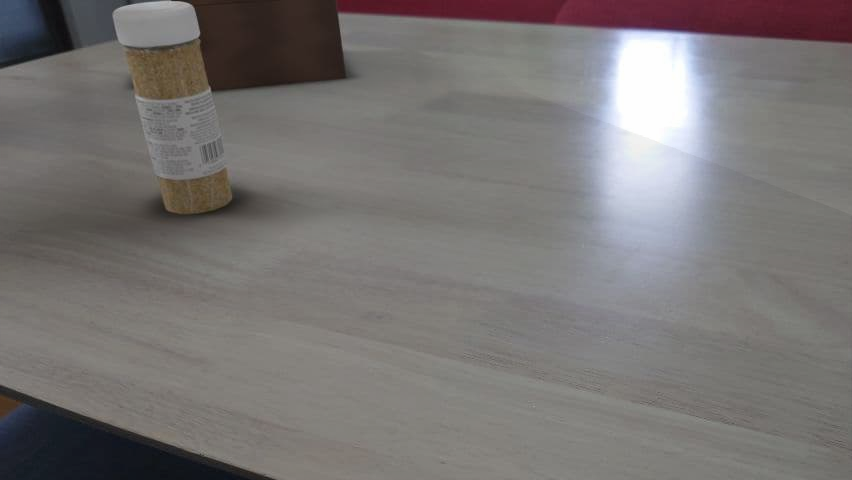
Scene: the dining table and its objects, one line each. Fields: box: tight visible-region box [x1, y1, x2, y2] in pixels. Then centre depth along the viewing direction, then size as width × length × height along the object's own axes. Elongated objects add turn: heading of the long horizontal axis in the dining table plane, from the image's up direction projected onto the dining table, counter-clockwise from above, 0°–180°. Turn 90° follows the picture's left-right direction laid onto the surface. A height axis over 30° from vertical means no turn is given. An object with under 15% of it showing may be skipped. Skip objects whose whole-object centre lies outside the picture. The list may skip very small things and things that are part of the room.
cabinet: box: [171, 0, 347, 92], centre depth 83 cm, size 15×13×10 cm
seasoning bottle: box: [112, 0, 233, 215], centre depth 52 cm, size 5×5×14 cm
